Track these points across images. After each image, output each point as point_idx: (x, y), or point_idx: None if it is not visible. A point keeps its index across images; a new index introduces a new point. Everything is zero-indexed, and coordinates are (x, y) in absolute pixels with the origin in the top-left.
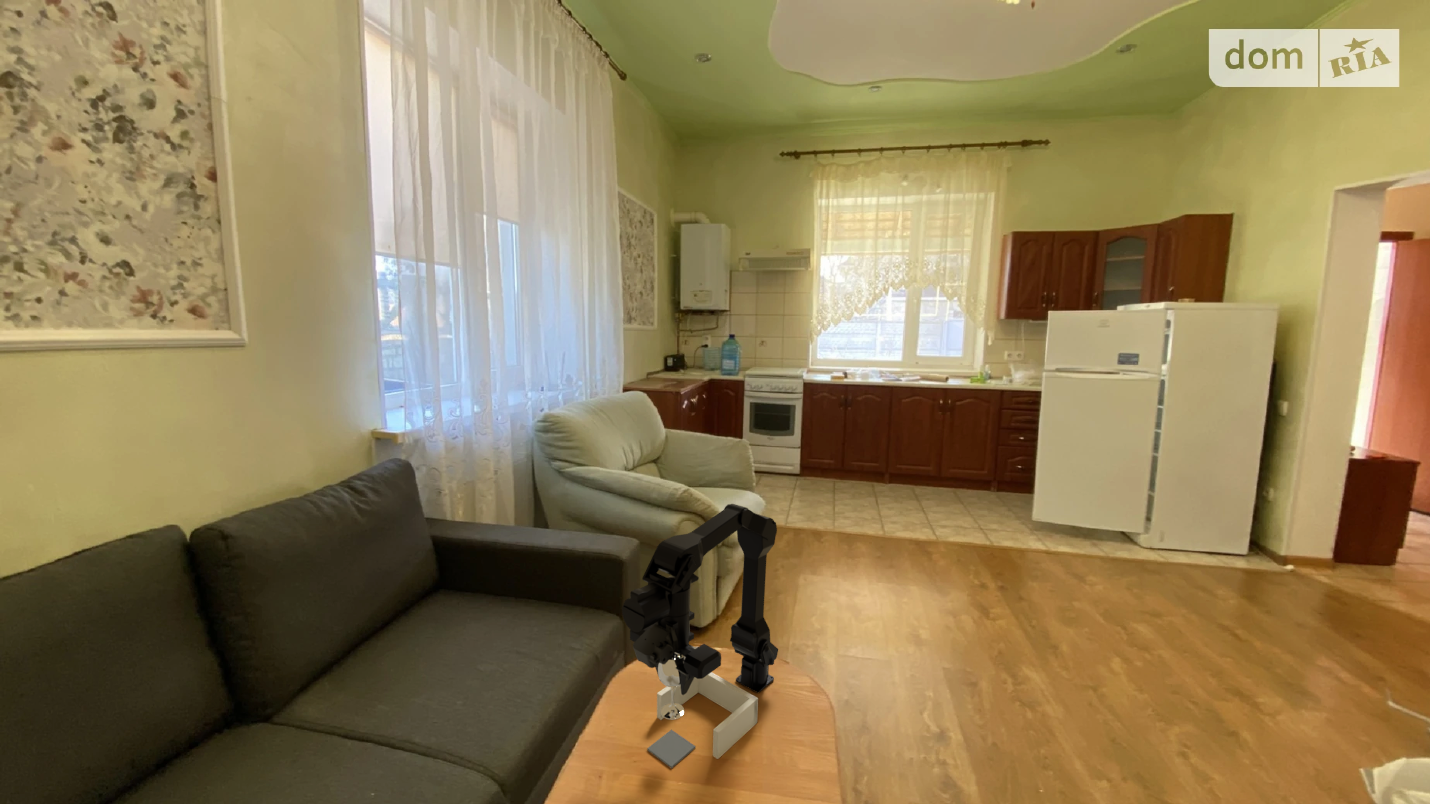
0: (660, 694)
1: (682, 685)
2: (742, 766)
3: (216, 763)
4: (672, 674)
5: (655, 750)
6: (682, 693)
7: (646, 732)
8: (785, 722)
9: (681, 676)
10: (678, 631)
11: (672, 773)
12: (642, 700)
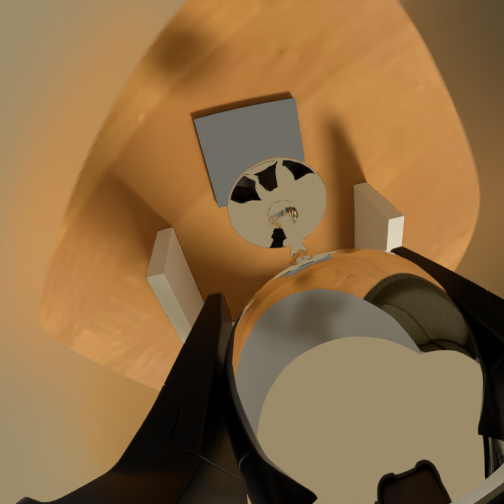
0: (393, 220)
1: (195, 351)
2: (117, 262)
3: None
4: (260, 402)
5: (273, 112)
6: (209, 300)
7: (346, 132)
8: None
9: (187, 425)
10: None
11: (178, 113)
12: (425, 187)
